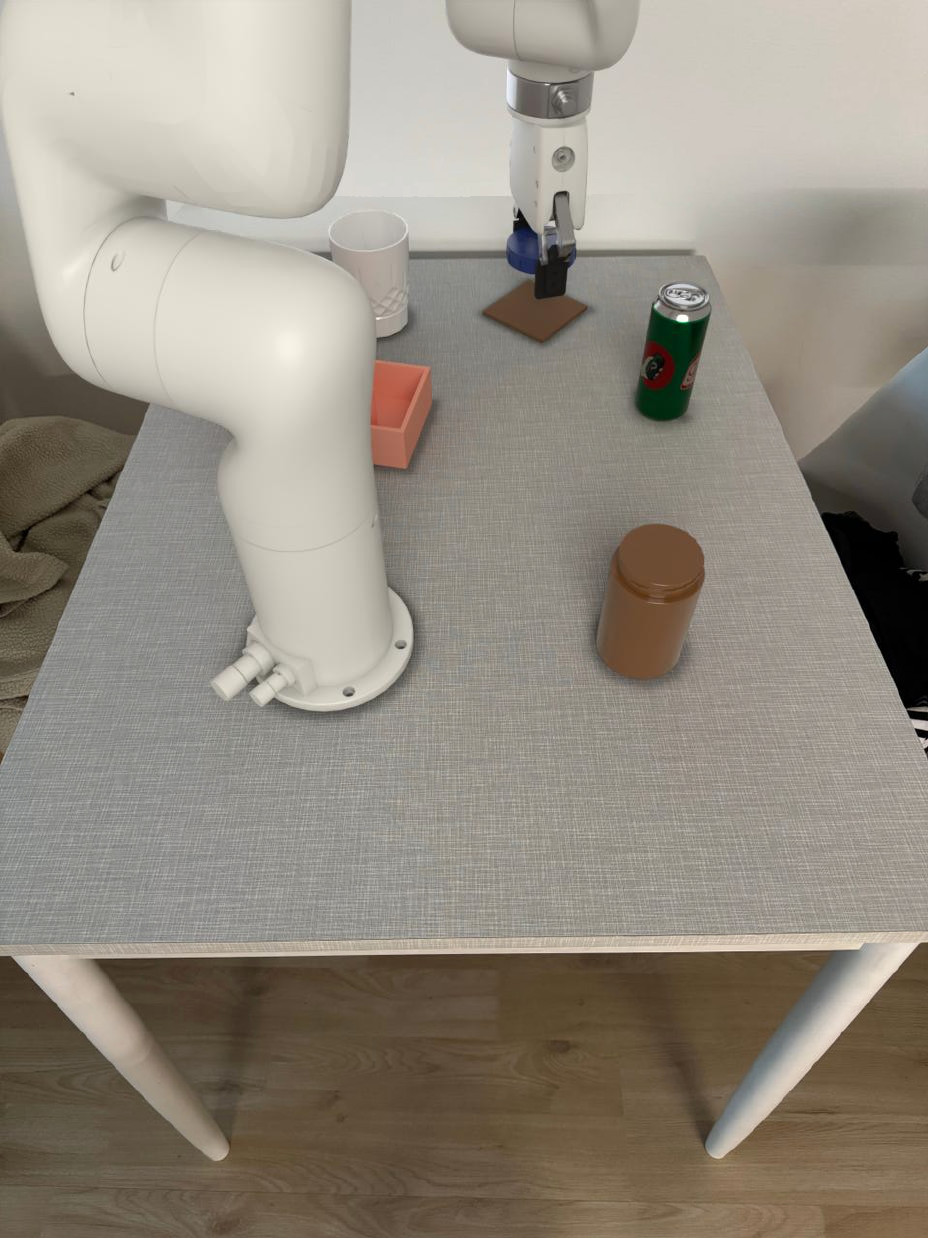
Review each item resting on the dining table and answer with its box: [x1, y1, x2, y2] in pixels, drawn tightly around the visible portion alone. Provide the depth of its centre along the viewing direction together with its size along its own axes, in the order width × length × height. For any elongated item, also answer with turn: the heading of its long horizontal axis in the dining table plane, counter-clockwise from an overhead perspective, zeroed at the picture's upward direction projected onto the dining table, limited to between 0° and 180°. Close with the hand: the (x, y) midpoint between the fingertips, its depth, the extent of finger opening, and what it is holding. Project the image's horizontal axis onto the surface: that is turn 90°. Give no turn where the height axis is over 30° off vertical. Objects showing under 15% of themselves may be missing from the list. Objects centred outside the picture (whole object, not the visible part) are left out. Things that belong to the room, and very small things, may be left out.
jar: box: [595, 523, 706, 680], centre depth 63 cm, size 6×6×10 cm
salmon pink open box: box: [370, 359, 433, 470], centre depth 79 cm, size 18×10×10 cm, turn 77°
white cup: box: [327, 209, 410, 339], centre depth 89 cm, size 8×8×10 cm
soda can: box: [634, 280, 713, 422], centre depth 79 cm, size 5×5×12 cm
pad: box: [482, 279, 588, 344], centre depth 94 cm, size 8×8×1 cm
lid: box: [505, 225, 577, 276], centre depth 89 cm, size 7×7×2 cm
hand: (538, 274), depth 91 cm, fingers closed on lid, 7 cm apart
